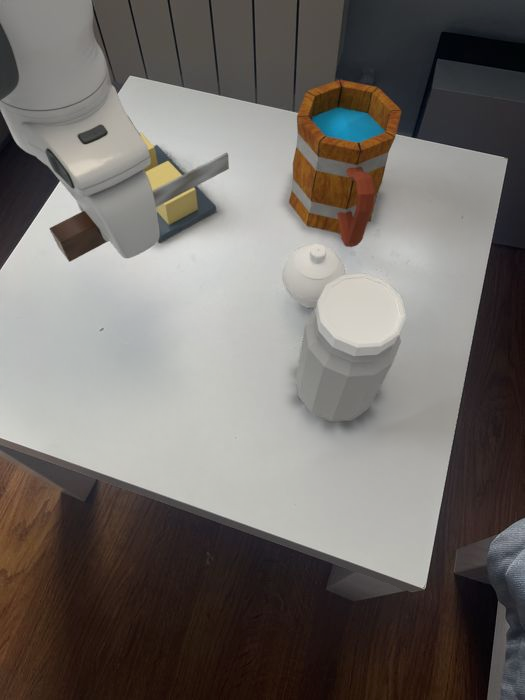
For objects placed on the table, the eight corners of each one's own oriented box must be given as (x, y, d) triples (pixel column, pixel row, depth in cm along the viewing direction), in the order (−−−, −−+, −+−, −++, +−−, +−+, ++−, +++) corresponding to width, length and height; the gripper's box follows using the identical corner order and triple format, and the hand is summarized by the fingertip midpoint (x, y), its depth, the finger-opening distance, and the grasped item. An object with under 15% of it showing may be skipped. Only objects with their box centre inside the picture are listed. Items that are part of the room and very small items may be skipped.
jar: (278, 391, 66) (288, 312, 50) (326, 339, 69) (349, 249, 53) (343, 441, 63) (375, 374, 47) (389, 384, 66) (433, 303, 51)
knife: (69, 262, 55) (60, 243, 53) (58, 247, 56) (48, 228, 53) (234, 174, 62) (233, 153, 59) (222, 162, 62) (220, 141, 60)
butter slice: (129, 182, 80) (124, 160, 77) (116, 166, 82) (110, 144, 78) (158, 168, 82) (154, 146, 78) (145, 153, 83) (140, 131, 80)
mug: (282, 170, 84) (288, 82, 71) (367, 164, 85) (389, 76, 72) (302, 271, 74) (314, 192, 61) (397, 263, 75) (428, 183, 62)
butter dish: (159, 243, 76) (157, 237, 75) (102, 177, 82) (100, 171, 81) (216, 211, 79) (216, 206, 78) (158, 150, 85) (156, 144, 84)
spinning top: (269, 295, 72) (273, 235, 62) (320, 276, 74) (332, 216, 64) (294, 340, 69) (303, 286, 59) (346, 320, 71) (364, 263, 60)
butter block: (169, 225, 76) (165, 205, 73) (142, 195, 79) (138, 175, 75) (198, 209, 78) (195, 189, 74) (171, 181, 80) (168, 160, 77)
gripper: (-31, 56, 46) (27, 178, 58) (87, 197, 39) (125, 303, 51) (36, 31, 48) (78, 154, 60) (161, 160, 41) (180, 271, 53)
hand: (101, 223), depth 56 cm, fingers closed on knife, 2 cm apart
